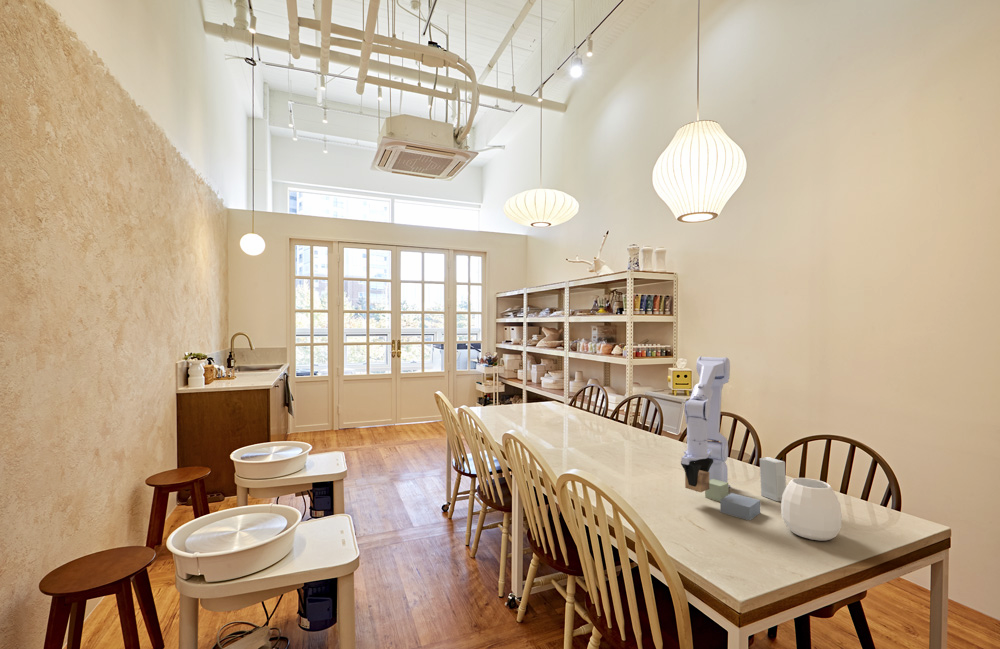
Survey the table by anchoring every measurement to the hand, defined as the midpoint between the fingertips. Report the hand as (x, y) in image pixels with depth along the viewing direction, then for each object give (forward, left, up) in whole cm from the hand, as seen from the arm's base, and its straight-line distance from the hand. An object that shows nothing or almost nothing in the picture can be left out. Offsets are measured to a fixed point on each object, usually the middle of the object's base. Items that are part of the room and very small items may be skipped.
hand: (697, 483), depth 142 cm
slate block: (-4, +11, -7) cm, 13 cm away
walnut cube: (0, 0, -2) cm, 2 cm away
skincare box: (-24, +12, -7) cm, 28 cm away
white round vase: (-4, +29, -7) cm, 30 cm away
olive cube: (-10, +1, -7) cm, 12 cm away
